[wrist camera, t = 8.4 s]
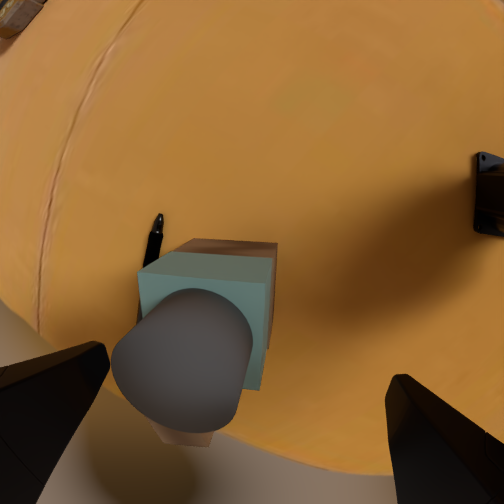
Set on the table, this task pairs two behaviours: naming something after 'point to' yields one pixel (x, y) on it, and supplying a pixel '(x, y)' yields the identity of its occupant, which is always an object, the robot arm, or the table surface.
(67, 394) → the robot arm
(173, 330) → the stone
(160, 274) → the tower top
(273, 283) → the tower base
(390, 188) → the table surface
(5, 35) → the futuristic tool
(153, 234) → the pen
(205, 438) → the block
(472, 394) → the table surface
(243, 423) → the table surface
